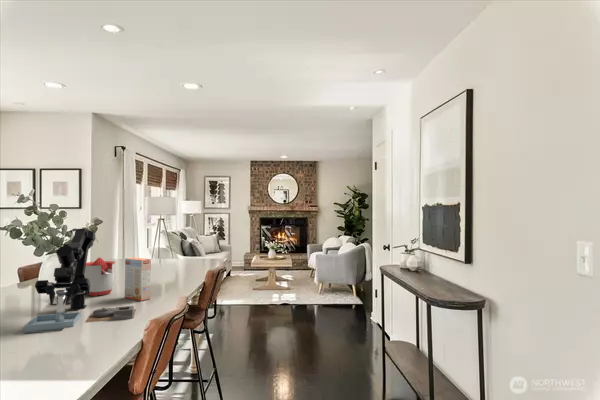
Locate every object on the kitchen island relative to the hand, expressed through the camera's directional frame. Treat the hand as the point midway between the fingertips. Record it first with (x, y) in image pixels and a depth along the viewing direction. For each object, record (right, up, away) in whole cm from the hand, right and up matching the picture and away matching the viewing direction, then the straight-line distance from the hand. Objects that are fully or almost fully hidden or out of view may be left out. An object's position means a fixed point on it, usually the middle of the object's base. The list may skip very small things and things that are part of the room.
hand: (58, 304), depth 147 cm
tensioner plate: (+14, -10, +13) cm, 22 cm away
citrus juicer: (-15, -11, +58) cm, 60 cm away
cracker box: (+10, -11, +48) cm, 50 cm away
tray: (-3, -9, +1) cm, 10 cm away
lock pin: (0, -8, +1) cm, 8 cm away
